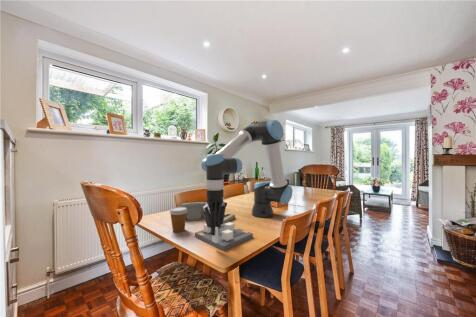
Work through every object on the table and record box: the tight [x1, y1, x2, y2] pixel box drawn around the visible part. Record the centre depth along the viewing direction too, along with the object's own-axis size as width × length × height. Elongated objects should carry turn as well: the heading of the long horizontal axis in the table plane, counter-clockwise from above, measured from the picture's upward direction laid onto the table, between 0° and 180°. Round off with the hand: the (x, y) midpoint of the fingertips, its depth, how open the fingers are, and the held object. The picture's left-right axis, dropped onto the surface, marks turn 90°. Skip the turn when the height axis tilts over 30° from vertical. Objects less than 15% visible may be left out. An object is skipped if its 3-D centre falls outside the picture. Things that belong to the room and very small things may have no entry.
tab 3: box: [222, 230, 233, 241], centre depth 96 cm, size 4×4×4 cm
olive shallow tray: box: [223, 213, 236, 224], centre depth 129 cm, size 16×8×3 cm, turn 152°
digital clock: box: [180, 201, 207, 221], centre depth 134 cm, size 16×9×11 cm, turn 96°
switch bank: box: [194, 223, 254, 251], centre depth 104 cm, size 20×22×2 cm
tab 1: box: [203, 223, 211, 233], centre depth 105 cm, size 4×4×4 cm
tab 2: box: [224, 221, 235, 231], centre depth 106 cm, size 4×4×4 cm
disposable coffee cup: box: [169, 206, 187, 233], centre depth 113 cm, size 10×10×12 cm
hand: (215, 241), depth 90 cm, fingers closed
